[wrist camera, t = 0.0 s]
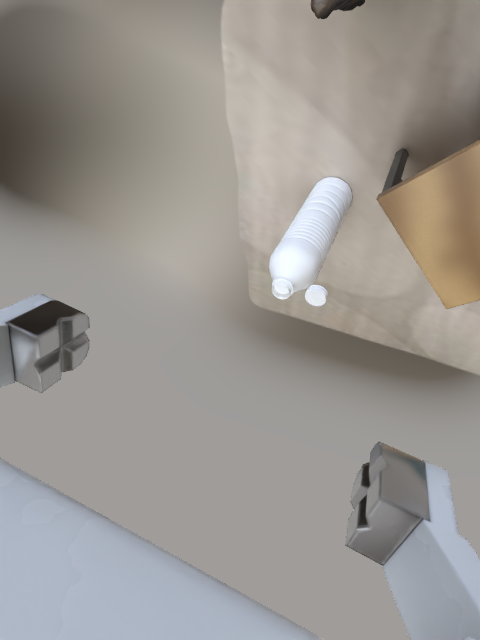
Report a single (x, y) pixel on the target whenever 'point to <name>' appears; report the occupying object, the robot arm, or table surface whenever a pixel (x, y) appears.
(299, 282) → the water bottle
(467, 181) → the desk
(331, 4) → the owl
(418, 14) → the table surface
